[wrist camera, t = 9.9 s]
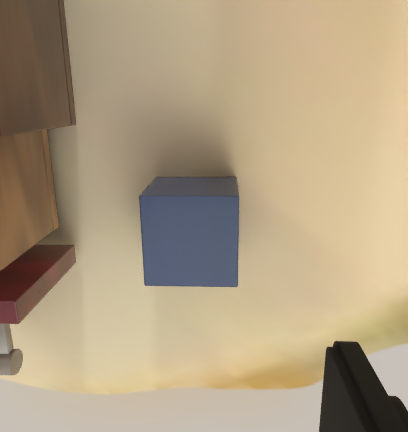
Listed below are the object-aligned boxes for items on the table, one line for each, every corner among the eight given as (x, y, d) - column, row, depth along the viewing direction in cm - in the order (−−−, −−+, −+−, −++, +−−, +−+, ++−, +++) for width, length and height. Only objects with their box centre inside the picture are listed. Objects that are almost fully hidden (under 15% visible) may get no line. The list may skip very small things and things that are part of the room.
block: (236, 176, 24) (239, 195, 19) (235, 252, 25) (237, 287, 21) (156, 176, 24) (138, 195, 19) (159, 251, 26) (144, 286, 21)
